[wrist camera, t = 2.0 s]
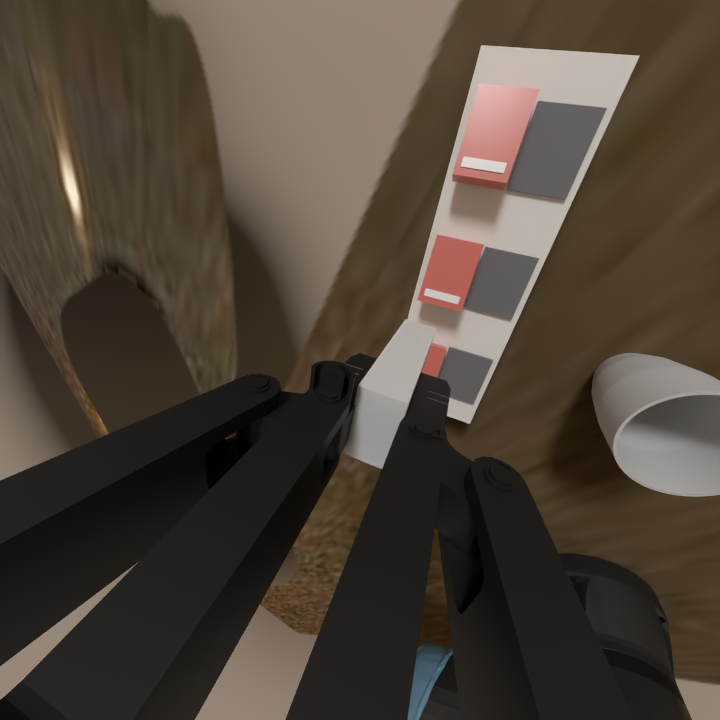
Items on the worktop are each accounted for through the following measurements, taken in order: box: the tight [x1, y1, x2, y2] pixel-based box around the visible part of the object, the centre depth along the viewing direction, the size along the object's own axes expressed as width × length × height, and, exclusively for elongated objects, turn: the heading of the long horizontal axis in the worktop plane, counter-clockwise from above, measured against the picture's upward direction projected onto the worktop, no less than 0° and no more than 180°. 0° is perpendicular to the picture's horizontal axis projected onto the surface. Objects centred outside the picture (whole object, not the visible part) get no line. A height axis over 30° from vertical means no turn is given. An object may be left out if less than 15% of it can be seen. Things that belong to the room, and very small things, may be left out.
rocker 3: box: [452, 83, 540, 190], centre depth 20 cm, size 5×4×2 cm
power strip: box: [407, 45, 639, 424], centre depth 28 cm, size 34×9×4 cm, turn 169°
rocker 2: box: [417, 234, 484, 312], centre depth 24 cm, size 5×4×2 cm
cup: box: [592, 353, 720, 496], centre depth 23 cm, size 8×8×10 cm
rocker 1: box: [422, 343, 447, 377], centre depth 28 cm, size 5×4×2 cm
